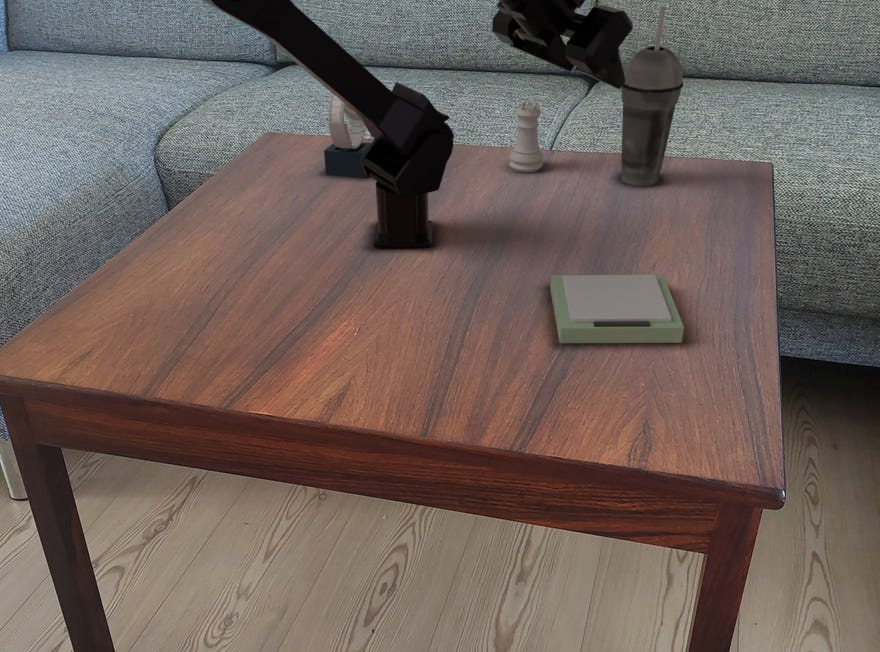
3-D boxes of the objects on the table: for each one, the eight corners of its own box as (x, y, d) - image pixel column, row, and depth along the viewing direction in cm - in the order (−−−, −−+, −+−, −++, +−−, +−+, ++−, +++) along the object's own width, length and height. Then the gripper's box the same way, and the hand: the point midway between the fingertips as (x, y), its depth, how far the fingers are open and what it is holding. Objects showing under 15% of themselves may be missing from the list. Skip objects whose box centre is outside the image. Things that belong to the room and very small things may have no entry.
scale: (681, 343, 84) (685, 323, 83) (559, 343, 85) (561, 324, 84) (661, 288, 93) (663, 270, 92) (550, 289, 94) (551, 271, 93)
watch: (382, 162, 126) (378, 76, 119) (359, 182, 120) (354, 93, 113) (343, 158, 127) (337, 73, 121) (319, 178, 121) (312, 90, 115)
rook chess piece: (503, 171, 121) (505, 107, 116) (515, 160, 124) (517, 98, 120) (536, 175, 120) (540, 111, 115) (547, 164, 123) (551, 101, 118)
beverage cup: (665, 169, 120) (689, -3, 108) (673, 190, 114) (699, 11, 102) (608, 169, 120) (625, -2, 108) (612, 190, 115) (631, 12, 103)
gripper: (629, -81, 88) (699, 30, 98) (519, -98, 101) (591, 2, 112) (554, 20, 90) (631, 119, 100) (455, -9, 103) (532, 80, 114)
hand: (596, 76), depth 106 cm, fingers open, 9 cm apart
